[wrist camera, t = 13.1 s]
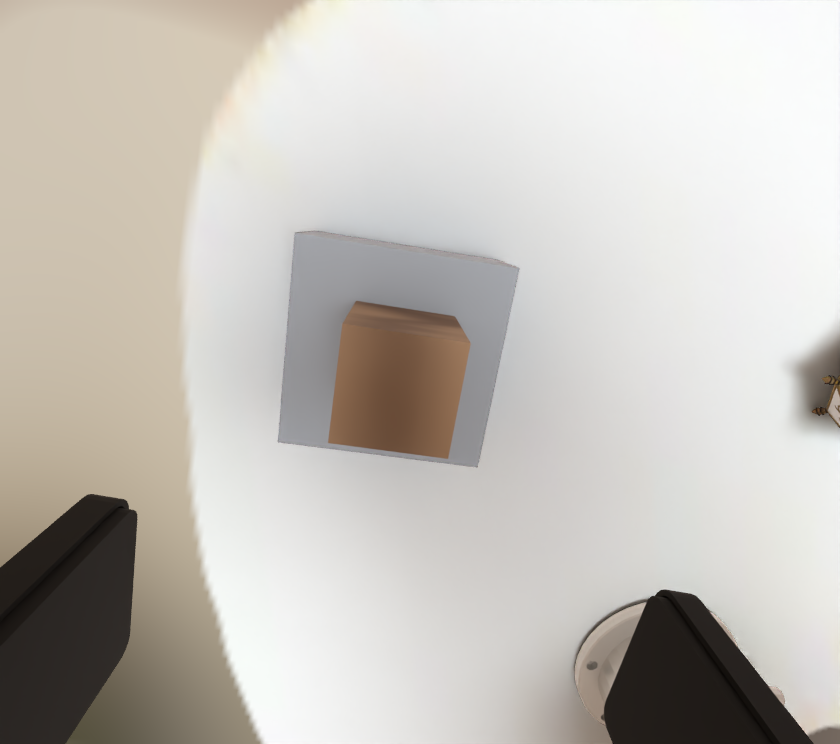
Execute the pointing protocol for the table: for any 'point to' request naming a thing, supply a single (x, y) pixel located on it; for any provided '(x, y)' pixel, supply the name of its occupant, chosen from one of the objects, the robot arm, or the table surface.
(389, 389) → the copper block
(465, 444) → the slate base
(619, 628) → the robot arm
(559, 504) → the table surface
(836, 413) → the game die
